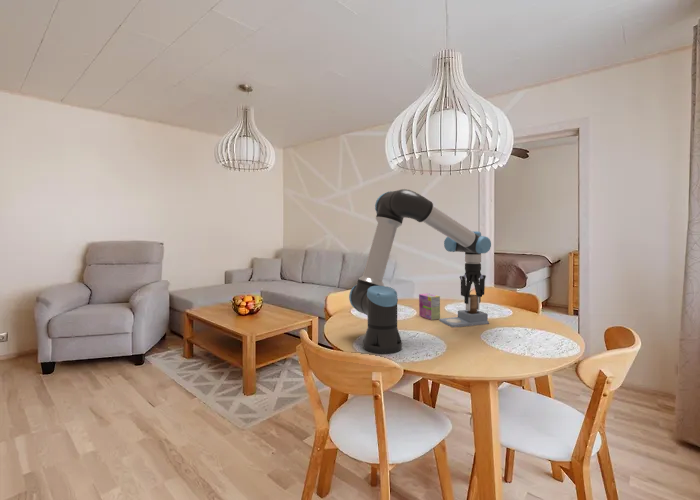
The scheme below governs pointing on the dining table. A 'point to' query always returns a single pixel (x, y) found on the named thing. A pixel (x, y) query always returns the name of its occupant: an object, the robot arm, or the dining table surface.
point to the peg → (473, 304)
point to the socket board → (464, 323)
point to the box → (429, 306)
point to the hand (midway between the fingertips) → (472, 309)
